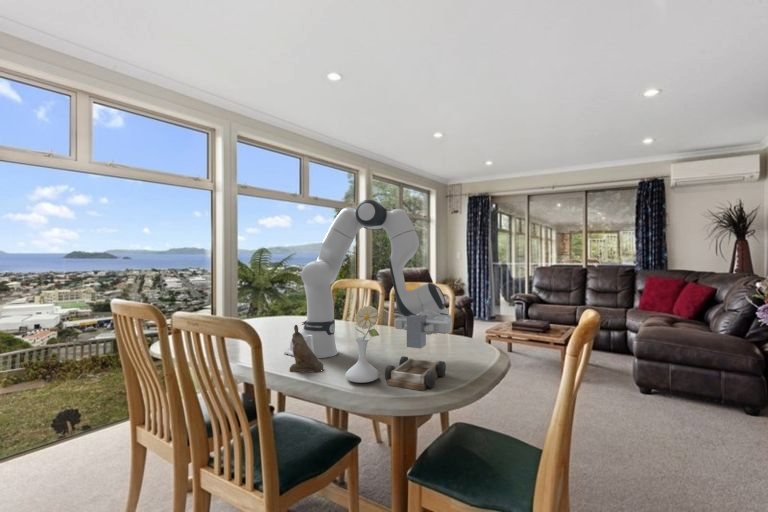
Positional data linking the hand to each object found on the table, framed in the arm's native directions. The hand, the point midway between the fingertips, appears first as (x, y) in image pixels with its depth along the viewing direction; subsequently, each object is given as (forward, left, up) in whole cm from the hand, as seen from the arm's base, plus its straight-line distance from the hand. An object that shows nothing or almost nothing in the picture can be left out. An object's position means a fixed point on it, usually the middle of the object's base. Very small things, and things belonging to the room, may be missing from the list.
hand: (415, 328), depth 125 cm
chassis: (0, +1, -17) cm, 17 cm away
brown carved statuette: (-39, -7, -17) cm, 43 cm away
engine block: (0, +1, -6) cm, 6 cm away
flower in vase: (-15, -8, -17) cm, 24 cm away
